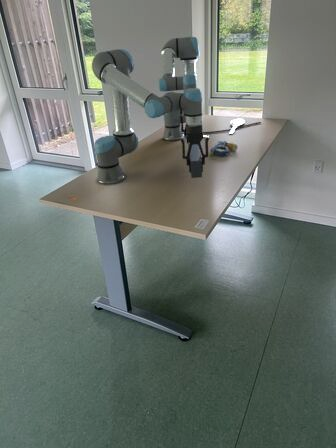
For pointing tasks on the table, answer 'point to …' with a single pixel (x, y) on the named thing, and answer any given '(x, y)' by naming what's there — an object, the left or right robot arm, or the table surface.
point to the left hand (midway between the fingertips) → (195, 170)
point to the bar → (195, 161)
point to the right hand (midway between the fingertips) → (192, 142)
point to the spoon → (236, 124)
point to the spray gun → (223, 148)
